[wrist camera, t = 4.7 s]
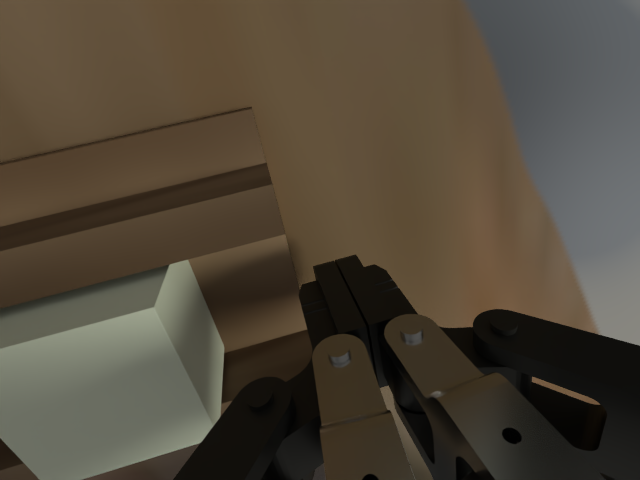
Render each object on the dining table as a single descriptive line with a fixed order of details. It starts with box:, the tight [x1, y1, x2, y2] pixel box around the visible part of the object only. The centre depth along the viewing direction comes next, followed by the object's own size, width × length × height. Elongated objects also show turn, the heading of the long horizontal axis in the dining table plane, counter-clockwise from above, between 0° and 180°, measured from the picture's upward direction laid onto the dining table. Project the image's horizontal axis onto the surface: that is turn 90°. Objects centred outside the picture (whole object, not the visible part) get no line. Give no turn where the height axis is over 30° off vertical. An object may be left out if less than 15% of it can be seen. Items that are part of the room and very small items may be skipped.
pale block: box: [0, 260, 224, 480], centre depth 11 cm, size 5×5×4 cm
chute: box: [0, 107, 312, 480], centre depth 12 cm, size 12×13×3 cm
